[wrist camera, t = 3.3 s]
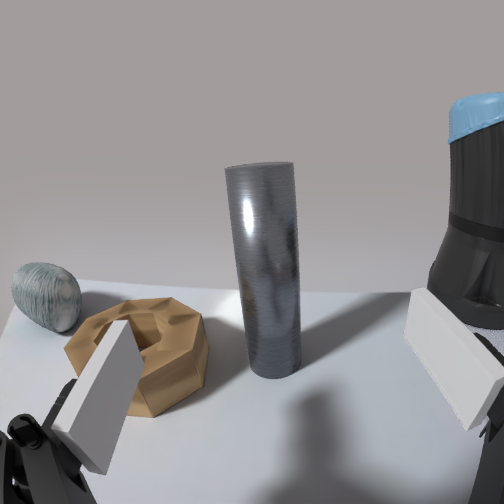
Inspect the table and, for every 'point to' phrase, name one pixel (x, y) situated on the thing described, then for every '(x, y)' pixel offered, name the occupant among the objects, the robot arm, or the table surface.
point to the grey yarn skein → (47, 295)
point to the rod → (267, 263)
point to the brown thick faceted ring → (152, 350)
